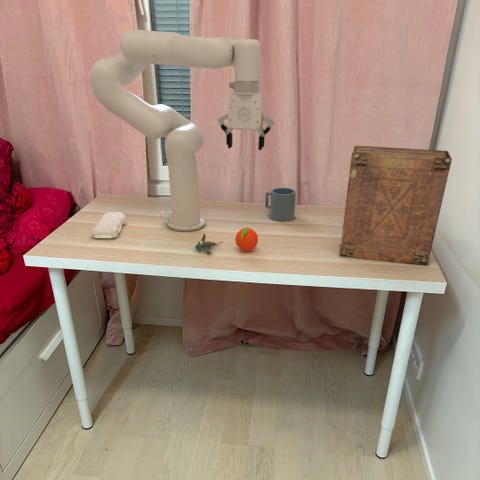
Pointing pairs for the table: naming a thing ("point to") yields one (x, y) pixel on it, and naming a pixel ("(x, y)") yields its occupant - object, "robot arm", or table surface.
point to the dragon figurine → (205, 245)
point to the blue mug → (281, 203)
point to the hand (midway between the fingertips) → (245, 148)
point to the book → (393, 203)
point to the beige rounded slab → (109, 225)
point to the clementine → (246, 239)
